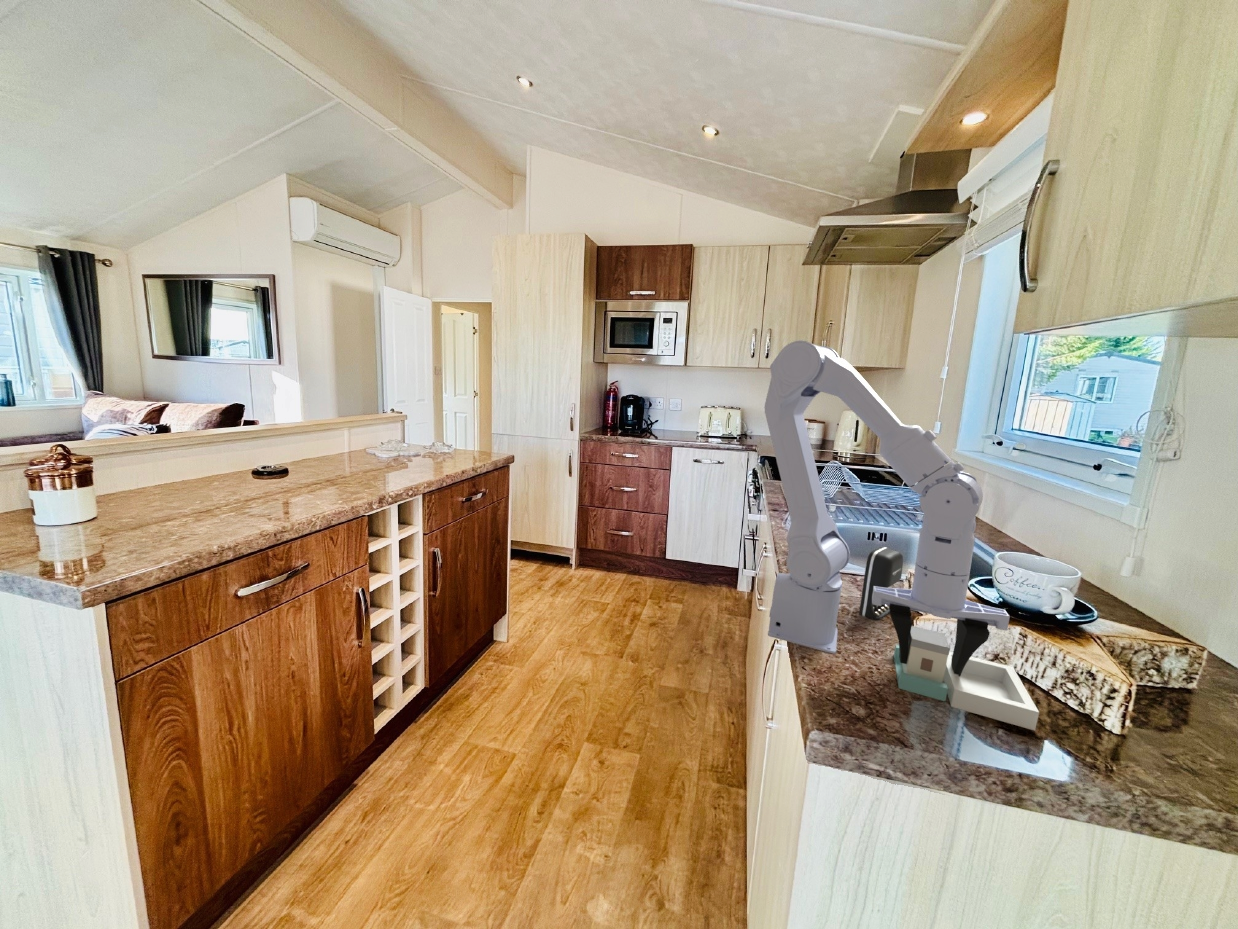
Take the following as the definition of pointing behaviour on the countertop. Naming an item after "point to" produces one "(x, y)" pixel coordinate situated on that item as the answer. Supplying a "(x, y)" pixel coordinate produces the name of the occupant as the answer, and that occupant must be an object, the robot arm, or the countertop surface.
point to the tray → (990, 692)
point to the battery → (879, 579)
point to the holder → (918, 682)
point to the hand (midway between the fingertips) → (927, 665)
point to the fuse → (927, 654)
